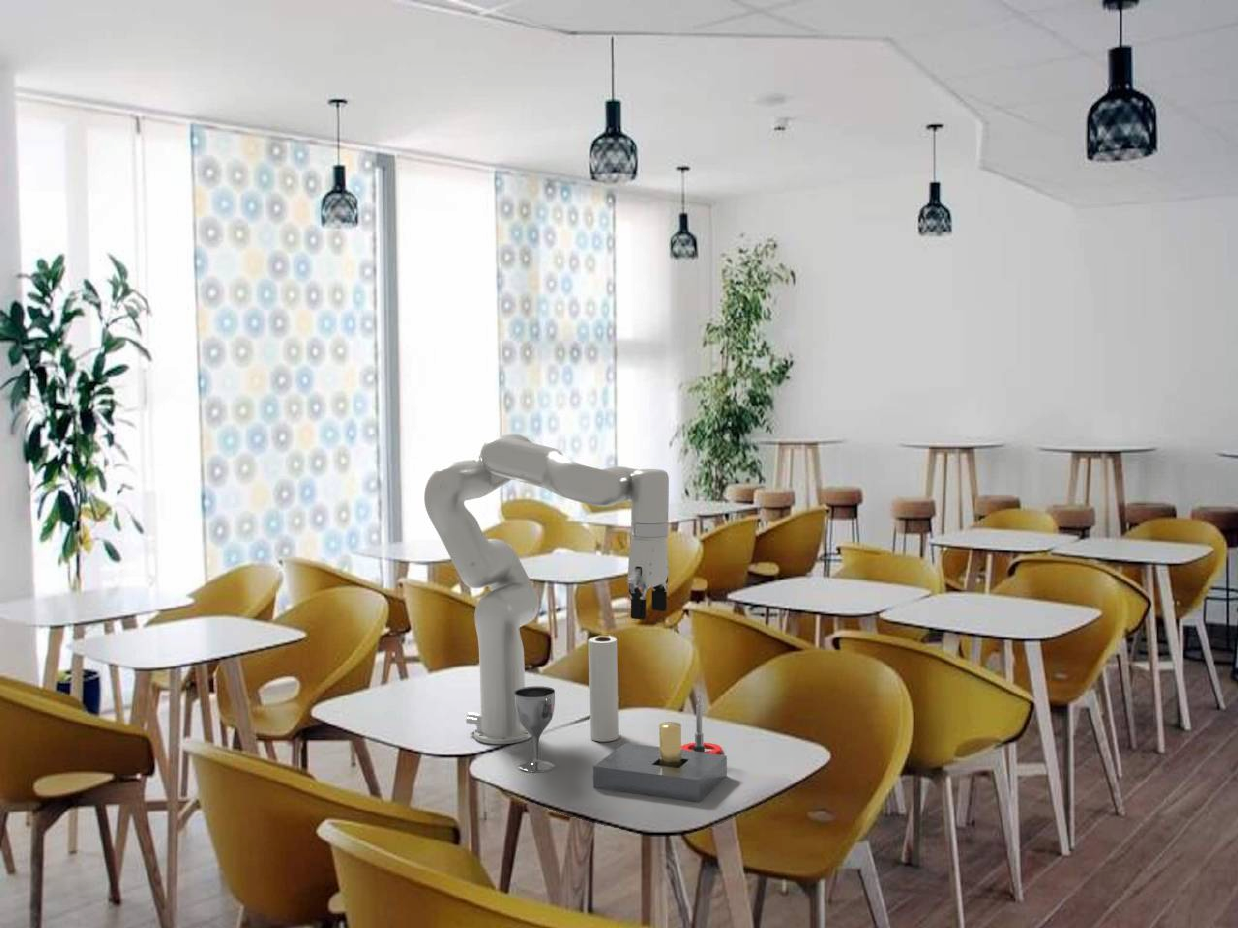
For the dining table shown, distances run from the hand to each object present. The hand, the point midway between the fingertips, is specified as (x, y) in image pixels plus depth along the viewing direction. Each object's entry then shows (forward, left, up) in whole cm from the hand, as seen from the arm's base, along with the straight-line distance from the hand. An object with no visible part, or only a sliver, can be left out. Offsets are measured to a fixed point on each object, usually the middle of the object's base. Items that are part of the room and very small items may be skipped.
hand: (648, 614), depth 239 cm
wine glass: (-17, -18, -28) cm, 37 cm away
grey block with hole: (+9, -17, -28) cm, 34 cm away
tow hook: (+10, +2, -28) cm, 30 cm away
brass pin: (+11, -17, -28) cm, 34 cm away
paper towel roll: (-12, +4, -28) cm, 31 cm away
